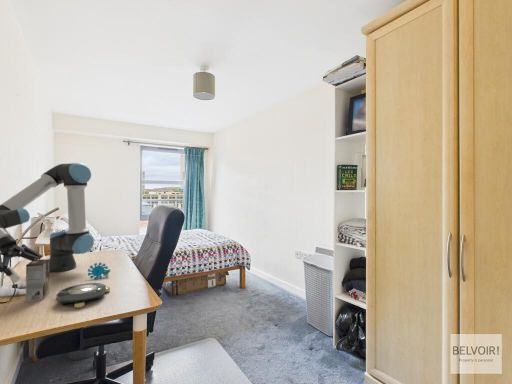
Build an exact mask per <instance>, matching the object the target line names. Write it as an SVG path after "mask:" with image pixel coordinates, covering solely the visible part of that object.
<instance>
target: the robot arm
mask: <svg viewBox="0 0 512 384" xmlns="http://www.w3.org/2000/svg"><path fill="white" fill-rule="evenodd" d="M91 178H92V173H91V169H90V168H89V167H88V166H87V165H86V164H84V163H80V162H79V163H78V162H75V163H74V162H72V163H71V162H70V163H60V164H57V165H55V166H53V167H51V168H50V169H48V170H46V171H45V172H44V173H42V174H41V175H40V177H39V178H38V179H37V180H35V181H33V182H32V183H31V184H29V185H28V186H26V187H25V188H23V189H21V191H19V192H18V193H16V194H14V195H12V196H11V197H10V198H8V199H7V200H6V201H4V202H2V203H1V204H0V273H1V274H2V273H4V274H5V275H6V276H7V277H9V278H10V280H11V281H12V282H13V283H14V284H15V283H17V282H18V281H19V280H20V279H21V276H19V274H18V273H17V272H16V271H15V270H14V268H13V267H12V266H9V264H10V259H12V258H17V257H18V258H23V259H25V260H28V261H30V262H31V261H33V260H41V259H42V257H43V255H42V254H40V253H39V252H37V251H35V250H33V249H31V248H30V247H28V246H27V245H26V244H24V243H22V245H17V240H16V239H15V238H14V237H13V236H12V235H11V233H10V232H9V231H8V230H7V229H8V228H12V227H16V226H19V225H23V224H25V223H28V222H29V221H30V219H31V217H30V213H29V211H28V210H27V209H26V208H25V207H27V206H29V204H31V203H32V202H34V201H35V200H36V199H38V198H39V197H41V196H42V195H44V194H45V193H46V192H48V191H49V190H51V188H56V187H57V186H59V185H61V184H63V187H65V189H66V191H67V192H66V194H67V196H66V197H67V219H68V229H67V230H64V231H56V232H51V233H50V236H49V257H48V259H50V260H49V264H50V268H49V273H51V272H52V273H57V272H65V271H69V270H73V269H76V267H77V262H76V260H75V257H74V254H75V255H79V254H80V255H81V254H86V253H89V251H90V250H91V249H92V248H93V246H94V243H95V241H94V240H95V239H94V237H93V236H92V235H91V234H90V229H88V228H87V226H86V225H87V223H86V221H87V220H86V199H85V196H86V195H85V188H86V187H88V182H89V181H90V180H91Z"/></svg>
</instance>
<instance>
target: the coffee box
mask: <svg viewBox="0 0 512 384" xmlns="http://www.w3.org/2000/svg"><path fill="white" fill-rule="evenodd" d="M49 260H50V259H49V258H48V259H47V258H46V259H45V258H44V259H42V258H41V259H40V260H33V261H31V260H30V262H28V263H27V264H26V265H25V275H26V276H25V302H26V303H27V302H29V303H30V302H37V301H38V302H39V301H43V300H44V299H45V298H46V297H47V296H48V295H49V294H50V272H49V268H50V264H49Z"/></svg>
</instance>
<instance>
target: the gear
mask: <svg viewBox="0 0 512 384" xmlns="http://www.w3.org/2000/svg"><path fill="white" fill-rule="evenodd" d="M108 268H109V267H108V266H107V265H106V263H104V262H103V264H102V262H99V263H93V265H89V268H88V269H87V276H89V277H90V279H94V280H98V277H99V279H103V277H106V276H109V273H110V272H111V269H110V268H109V269H108ZM102 275H103V277H102Z"/></svg>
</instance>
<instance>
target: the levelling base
mask: <svg viewBox="0 0 512 384" xmlns="http://www.w3.org/2000/svg"><path fill="white" fill-rule="evenodd" d="M110 292H111V287H110V286H107V285H106V284H104V283H100V282H87V283H80V284H75V285H72V286H68V287H66V288H63V289H60V291H59V292H58V293H57V294H56V297H55V299H56V300H57V301H59V302H61V306H67V305H70V304H71V303H74V304H73V306H74V310H82V309H83V308H85V307H86V302H87V301H89V300H92V301H100V300H101V298H102V296H103V295H105V294H107V293H110ZM85 301H86V302H85Z"/></svg>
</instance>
